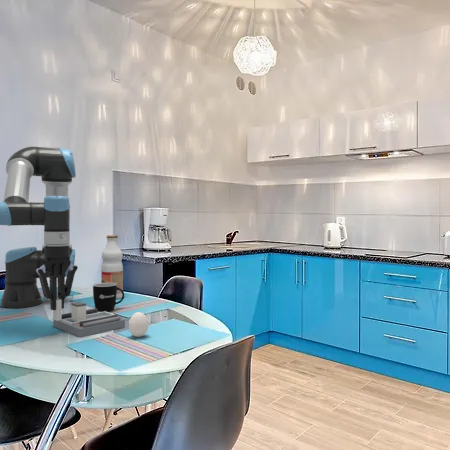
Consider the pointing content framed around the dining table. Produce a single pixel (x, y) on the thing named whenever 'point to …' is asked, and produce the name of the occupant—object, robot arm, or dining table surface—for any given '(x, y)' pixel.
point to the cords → (93, 321)
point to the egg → (138, 324)
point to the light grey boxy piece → (78, 311)
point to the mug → (106, 296)
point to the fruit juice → (112, 264)
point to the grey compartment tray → (90, 330)
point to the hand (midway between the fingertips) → (57, 319)
